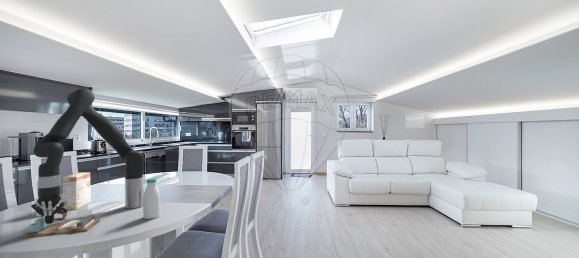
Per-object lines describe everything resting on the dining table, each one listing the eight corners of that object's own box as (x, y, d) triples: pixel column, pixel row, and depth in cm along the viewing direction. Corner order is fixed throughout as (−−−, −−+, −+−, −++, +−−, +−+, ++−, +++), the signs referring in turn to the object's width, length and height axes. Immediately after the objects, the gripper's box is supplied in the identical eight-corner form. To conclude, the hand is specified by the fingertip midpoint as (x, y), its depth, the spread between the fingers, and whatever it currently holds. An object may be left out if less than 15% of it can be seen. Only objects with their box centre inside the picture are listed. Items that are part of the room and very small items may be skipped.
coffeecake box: (78, 203, 159) (78, 172, 159) (91, 202, 161) (91, 172, 161) (62, 210, 145) (62, 176, 145) (76, 209, 146) (76, 176, 146)
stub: (51, 224, 119) (50, 214, 119) (38, 231, 111) (37, 221, 111) (38, 225, 118) (37, 215, 118) (23, 233, 109) (23, 222, 109)
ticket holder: (100, 221, 126) (99, 213, 126) (87, 231, 114) (87, 222, 114) (41, 226, 120) (41, 218, 120) (20, 238, 107) (20, 229, 107)
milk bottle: (163, 215, 134) (163, 177, 134) (151, 220, 127) (150, 180, 127) (152, 213, 136) (152, 177, 137) (140, 218, 129) (139, 180, 129)
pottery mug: (46, 219, 132) (56, 204, 134) (63, 226, 132) (74, 211, 135) (28, 221, 120) (41, 204, 123) (48, 229, 121) (60, 212, 124)
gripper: (71, 182, 121) (71, 218, 121) (37, 185, 117) (37, 222, 117) (61, 186, 114) (62, 224, 113) (25, 188, 110) (25, 228, 110)
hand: (49, 223), depth 115 cm, fingers closed
